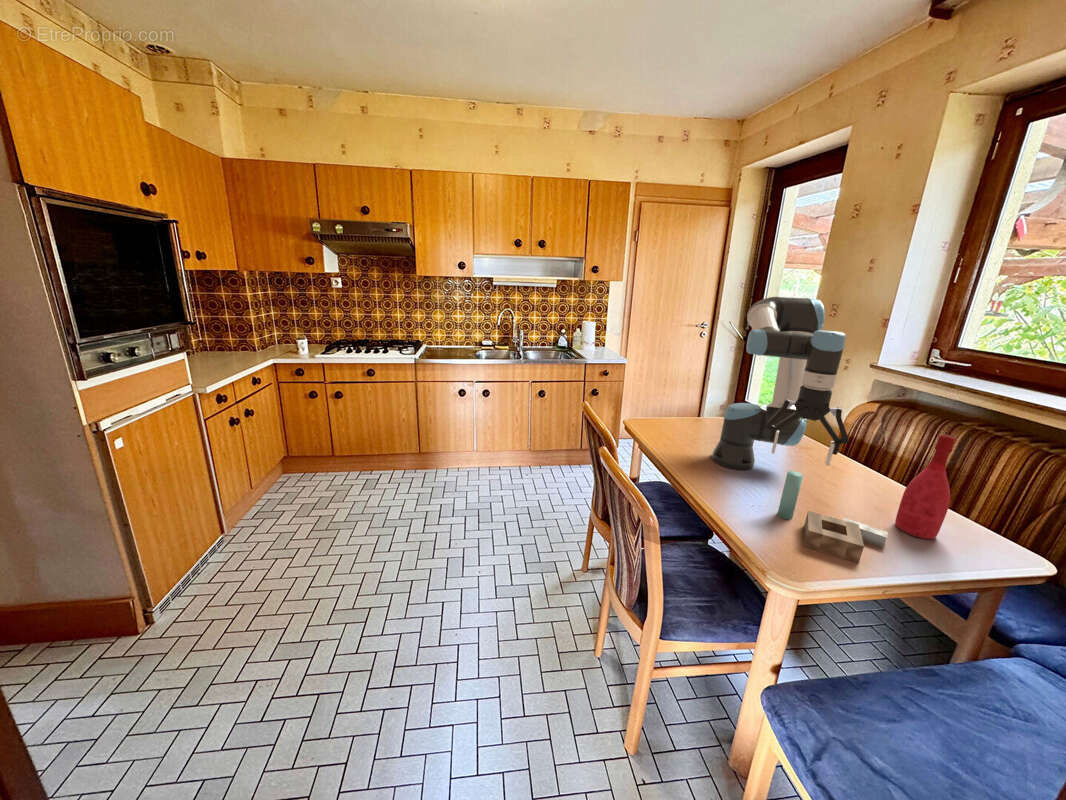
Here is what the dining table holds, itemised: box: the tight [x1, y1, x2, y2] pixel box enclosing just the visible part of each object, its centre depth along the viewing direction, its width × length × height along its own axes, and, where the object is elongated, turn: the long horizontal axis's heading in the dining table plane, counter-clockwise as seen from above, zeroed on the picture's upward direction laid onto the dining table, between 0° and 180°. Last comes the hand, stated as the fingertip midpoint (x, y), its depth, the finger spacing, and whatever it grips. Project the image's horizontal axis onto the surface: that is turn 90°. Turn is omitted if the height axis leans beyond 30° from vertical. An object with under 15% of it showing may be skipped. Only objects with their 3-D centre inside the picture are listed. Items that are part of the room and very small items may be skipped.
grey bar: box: [843, 517, 889, 549], centre depth 120 cm, size 10×4×4 cm, turn 47°
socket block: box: [803, 510, 865, 564], centre depth 116 cm, size 12×12×5 cm
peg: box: [776, 470, 804, 520], centre depth 127 cm, size 4×4×14 cm
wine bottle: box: [894, 434, 956, 540], centre depth 121 cm, size 10×10×30 cm
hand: (799, 458), depth 124 cm, fingers open, 13 cm apart
